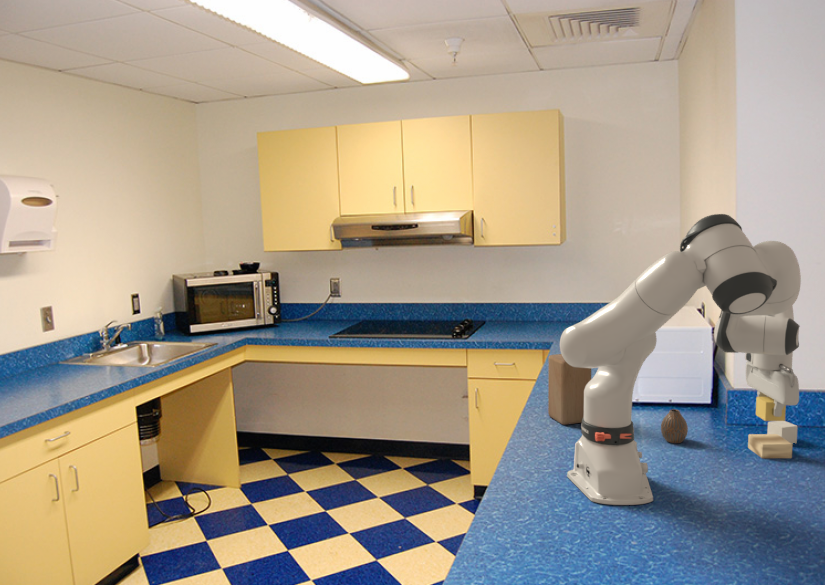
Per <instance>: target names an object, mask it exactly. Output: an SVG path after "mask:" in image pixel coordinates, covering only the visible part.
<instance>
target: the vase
mask: <svg viewBox="0 0 825 585" xmlns="http://www.w3.org/2000/svg"><path fill="white" fill-rule="evenodd" d="M688 428H689V427H688V423H687V420H686V419H685V417H684V416H683V415H682V413H681V411H680V410H679V409H675V408H674V409H673V408H672V409H669V411H668V413H667V414H665V416H664V417H663V419H662V421H661V424H660V431H661V435H662V437H663V439H664V440H665V441H666V442H669V443H670V444H681V443H683V442H684V440H686V438H687V435H688V431H689V429H688Z"/></svg>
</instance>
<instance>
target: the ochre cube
mask: <svg viewBox="0 0 825 585" xmlns="http://www.w3.org/2000/svg"><path fill="white" fill-rule="evenodd" d="M755 398H756V401H755V402H756V403H755V416H757V417H758V418H760V419H762V421H765V422H772V421H786V410H787V408H786V407H787V405H785V406H784V408H783V409H782V415H781V416H780V417H776V416H774V415H772V408H774V406H775V403H774V399H772V398H770V397H768V396H767V397H758V396H756V397H755Z"/></svg>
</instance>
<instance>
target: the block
mask: <svg viewBox="0 0 825 585" xmlns="http://www.w3.org/2000/svg"><path fill="white" fill-rule="evenodd" d="M547 370H548V372H547V373H548V377H547V378H548V382H547V383H548V390H547V391H548V392H547V393H548V395H547V396H548V401H547V402H548V404H547V408H548V409H547V411H548V412H547V414H548V416H549V418H551V419H553V420H554V421H556V422H558V423H559V424H561V425H563V426H565V425H566V426H567V425H575V424H581V423H582V418H583V417H584V389H585V386H586V385H587V383H588V382H589V381H590V380H591V379H592V368H579V367H573V366H571V365H569V364H568V363H567V362H566V361H565V360H564V358H563V356H562V354H561V353H558V354H556V353H555V354H551V355H548V369H547Z"/></svg>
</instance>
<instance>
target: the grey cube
mask: <svg viewBox="0 0 825 585" xmlns="http://www.w3.org/2000/svg"><path fill="white" fill-rule="evenodd" d="M766 432H767V433H766V434H778V435H779V436H781V437H782V438H784V439H785V440H787V441H788V442H790V443H791V444H793V443H795V444H798V443H797V441H798V425H796V424H793V423H792V422H788V421H786V420H785V421H767V431H766ZM793 445H794V444H793Z"/></svg>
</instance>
